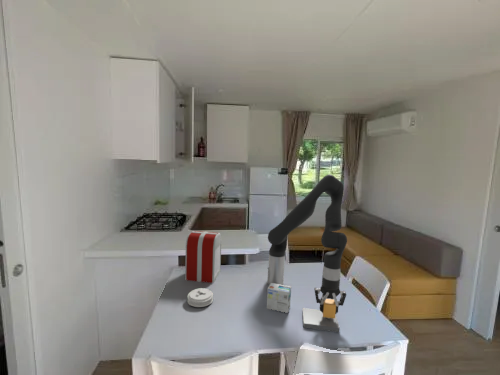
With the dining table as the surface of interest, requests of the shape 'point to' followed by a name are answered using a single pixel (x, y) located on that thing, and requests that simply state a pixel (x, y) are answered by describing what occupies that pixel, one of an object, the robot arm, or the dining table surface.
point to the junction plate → (319, 320)
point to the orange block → (329, 308)
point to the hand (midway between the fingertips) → (328, 312)
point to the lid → (200, 297)
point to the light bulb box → (279, 297)
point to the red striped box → (203, 256)
